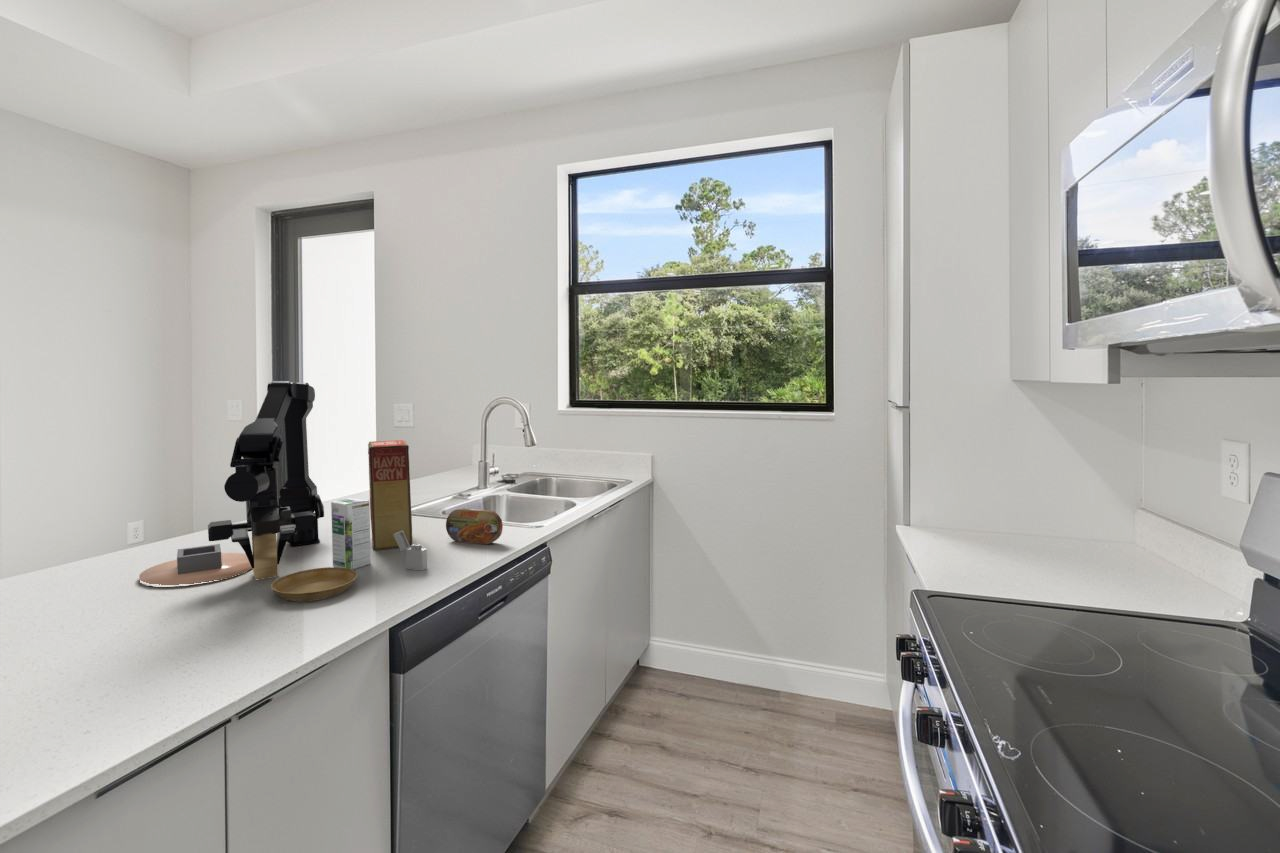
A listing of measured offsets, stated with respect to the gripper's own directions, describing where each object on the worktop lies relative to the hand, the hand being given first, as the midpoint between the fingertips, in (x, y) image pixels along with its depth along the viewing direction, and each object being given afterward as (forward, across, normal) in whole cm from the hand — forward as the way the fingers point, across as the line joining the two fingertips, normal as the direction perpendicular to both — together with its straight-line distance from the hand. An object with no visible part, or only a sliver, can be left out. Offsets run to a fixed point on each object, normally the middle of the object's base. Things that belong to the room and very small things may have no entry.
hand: (265, 566), depth 126 cm
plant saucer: (+2, +7, -16) cm, 18 cm away
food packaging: (+2, +28, +12) cm, 31 cm away
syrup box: (+2, +16, -3) cm, 16 cm away
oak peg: (+2, 0, 0) cm, 2 cm away
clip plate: (+2, -11, +11) cm, 16 cm away
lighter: (+2, +26, -12) cm, 29 cm away
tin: (+2, +45, 0) cm, 45 cm away
